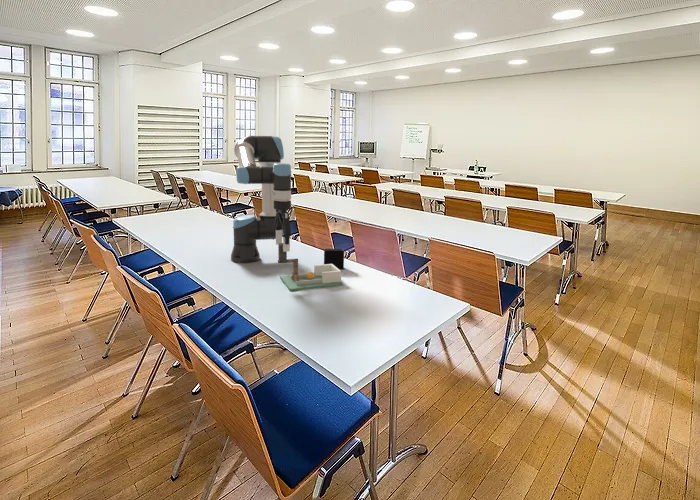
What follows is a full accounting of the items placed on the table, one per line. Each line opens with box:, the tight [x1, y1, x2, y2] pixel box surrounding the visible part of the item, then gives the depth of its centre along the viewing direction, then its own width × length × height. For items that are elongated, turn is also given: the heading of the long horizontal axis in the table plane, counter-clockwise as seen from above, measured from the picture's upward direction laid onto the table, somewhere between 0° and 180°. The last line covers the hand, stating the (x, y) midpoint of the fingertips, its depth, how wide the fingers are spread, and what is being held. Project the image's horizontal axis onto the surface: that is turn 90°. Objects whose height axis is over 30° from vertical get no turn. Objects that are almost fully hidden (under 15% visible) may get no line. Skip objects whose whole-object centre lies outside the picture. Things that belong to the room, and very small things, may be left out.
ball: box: [305, 271, 314, 280], centre depth 204 cm, size 4×4×4 cm
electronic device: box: [323, 248, 345, 271], centre depth 225 cm, size 4×10×10 cm, turn 95°
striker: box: [277, 242, 299, 282], centre depth 198 cm, size 6×9×18 cm, turn 113°
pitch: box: [279, 263, 344, 292], centre depth 204 cm, size 18×25×6 cm
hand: (282, 247), depth 195 cm, fingers open, 13 cm apart
